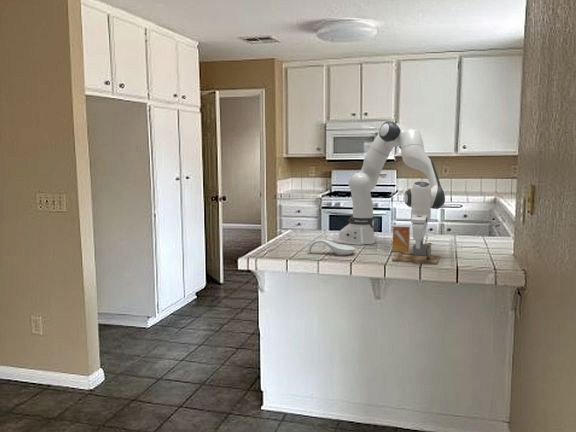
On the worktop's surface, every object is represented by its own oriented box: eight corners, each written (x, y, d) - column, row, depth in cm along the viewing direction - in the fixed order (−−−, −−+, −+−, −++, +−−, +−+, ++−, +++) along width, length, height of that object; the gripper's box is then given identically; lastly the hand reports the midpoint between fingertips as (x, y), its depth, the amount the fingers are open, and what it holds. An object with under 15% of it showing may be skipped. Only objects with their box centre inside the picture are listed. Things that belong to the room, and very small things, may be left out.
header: (392, 261, 240) (392, 244, 239) (397, 255, 254) (397, 239, 253) (437, 264, 233) (437, 247, 232) (439, 257, 247) (440, 241, 246)
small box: (392, 251, 263) (392, 226, 261) (393, 249, 269) (394, 224, 267) (408, 252, 260) (409, 226, 259) (409, 250, 266) (410, 225, 265)
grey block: (413, 258, 242) (412, 245, 241) (414, 256, 246) (414, 243, 246) (426, 258, 239) (426, 245, 239) (427, 256, 244) (427, 243, 243)
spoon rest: (356, 252, 262) (356, 238, 261) (355, 257, 251) (355, 242, 250) (309, 251, 266) (309, 237, 265) (306, 256, 255) (306, 241, 254)
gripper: (416, 214, 251) (415, 242, 253) (410, 219, 232) (409, 250, 234) (430, 214, 249) (429, 243, 251) (425, 220, 230) (423, 251, 232)
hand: (419, 246), depth 242 cm, fingers open, 8 cm apart
